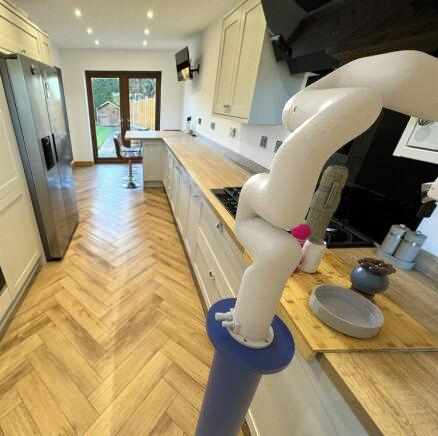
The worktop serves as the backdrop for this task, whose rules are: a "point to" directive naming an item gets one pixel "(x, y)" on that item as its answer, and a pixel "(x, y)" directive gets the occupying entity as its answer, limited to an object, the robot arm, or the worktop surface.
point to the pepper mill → (301, 235)
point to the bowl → (346, 310)
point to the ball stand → (368, 282)
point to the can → (312, 254)
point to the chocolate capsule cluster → (381, 269)
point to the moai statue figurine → (326, 200)
